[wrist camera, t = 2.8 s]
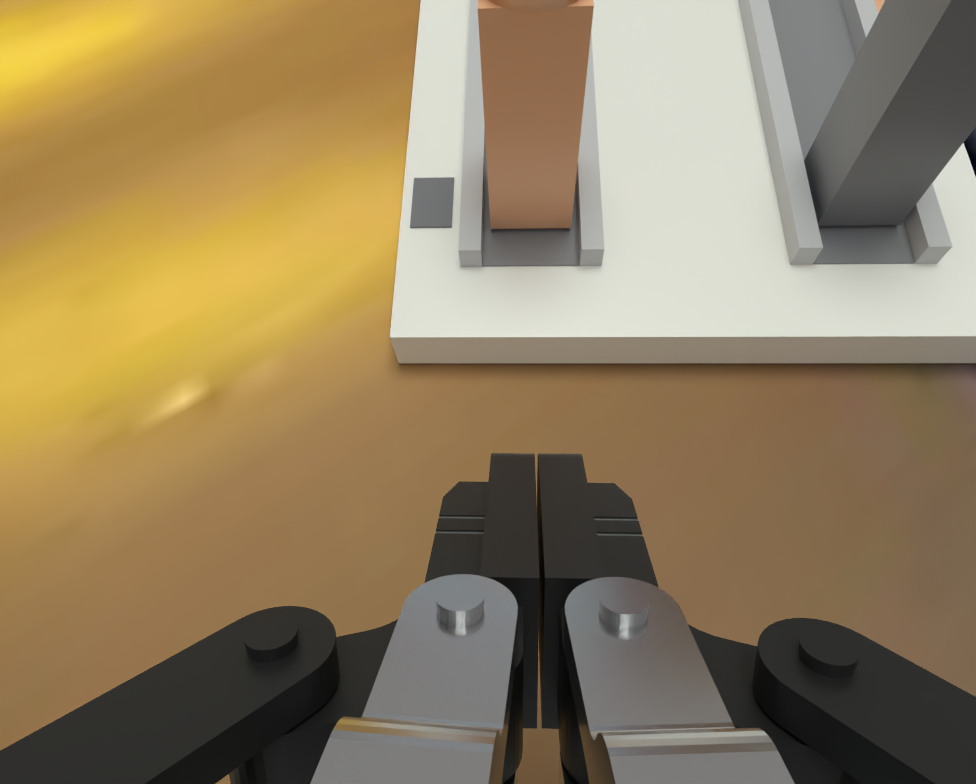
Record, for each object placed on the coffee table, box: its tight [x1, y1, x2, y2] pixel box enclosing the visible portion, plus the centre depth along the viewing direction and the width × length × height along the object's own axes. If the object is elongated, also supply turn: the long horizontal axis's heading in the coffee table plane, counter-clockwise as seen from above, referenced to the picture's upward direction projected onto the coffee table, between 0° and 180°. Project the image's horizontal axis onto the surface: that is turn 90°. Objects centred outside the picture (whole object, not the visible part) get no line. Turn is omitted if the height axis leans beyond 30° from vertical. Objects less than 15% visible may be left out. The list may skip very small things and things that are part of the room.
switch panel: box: [390, 0, 976, 363], centre depth 29 cm, size 22×22×3 cm
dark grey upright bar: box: [804, 0, 976, 226], centre depth 22 cm, size 3×3×10 cm
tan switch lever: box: [478, 0, 594, 229], centre depth 22 cm, size 3×3×10 cm
